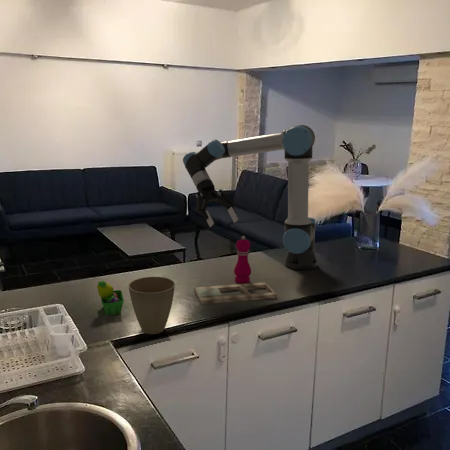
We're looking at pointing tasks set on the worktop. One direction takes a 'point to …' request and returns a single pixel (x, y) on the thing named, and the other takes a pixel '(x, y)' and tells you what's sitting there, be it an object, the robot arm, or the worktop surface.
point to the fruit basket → (110, 298)
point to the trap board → (215, 296)
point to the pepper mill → (242, 262)
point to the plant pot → (152, 302)
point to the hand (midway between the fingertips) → (224, 223)
